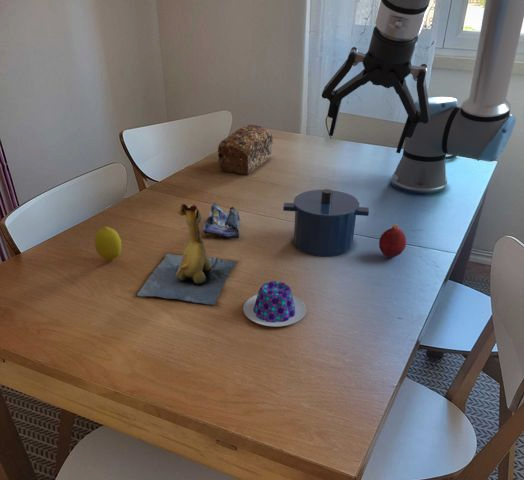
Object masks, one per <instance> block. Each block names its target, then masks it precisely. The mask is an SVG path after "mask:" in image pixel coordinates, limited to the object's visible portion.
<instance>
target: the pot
mask: <svg viewBox="0 0 524 480" xmlns="http://www.w3.org/2000/svg"><path fill="white" fill-rule="evenodd" d="M282 208H283V209H282V210H283V211H284V212H294V227H293V228H294V229H293V230H294V231H293V233H294V234H293V244H294V246H295V248H297V249H298V250H299V251H300V252H303V253H305V254H308V255H311V256H316V257H337V256H340V255H343V254H345V253H348V252H349V251H350V250H351V249H352V248H353V245H354V236H355V234H354V233H355V226H356V219H357V218H356V217H357V216H366V217H368V216H369V213H370V210H369V208H370V207H368V206H367V207H366V206H365V207H364V206H359V208H358V210H357V211H356V212H354V213H353V214H350V215H347V216H343V217H334V218H327V217H317V216H312V215H308V214H305V213H303V212H301V211H299V210H298V209H297V208H296V207H295V206H294V202H284V203H283V207H282Z"/></svg>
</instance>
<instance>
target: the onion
mask: <svg viewBox="0 0 524 480" xmlns="http://www.w3.org/2000/svg"><path fill="white" fill-rule="evenodd" d="M378 247H379V250H380V252H381V253H382V255H383V256H385V257H386V258H387V259H393V258H396V257H398V256H399V255H401V254H402V253H403V252H404V250H405V249H406V247H407V237H406V235H405V233H404V231H402V230H401V229H400V228H399V225H398V223H395V224H393V225H392V227H390V228H388V229H386V230H385V231H384V232H383V233H382V234H381V235H380V237H379V240H378Z"/></svg>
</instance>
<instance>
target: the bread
mask: <svg viewBox="0 0 524 480" xmlns="http://www.w3.org/2000/svg"><path fill="white" fill-rule="evenodd" d="M273 139H274V138H273V135H272V133H271V132H270V131H268V129H266V128H265V127H262V126H260V125H258V124H246V125H244V126H242V127H240V128H239V129H237V130H236V131H234V132H233V133H231V134H230V135H228V136H226V137H225V138H224V139H223V140H221V141H220V143H219V144H218V147H217V153H218V154H217V157H218V163H219V169H220V170H221V171H225V172H227V173H231V172H234V173H236V174H239V175H247V176H248V175H250V174H251V173H252V172H254V171H255V170H257V169H258V168H259V167H261V166H262V165H263V164H264V163H266V162H267V161H268V160H269V159H270V158H271V156H272V153H273V145H274V144H273V143H274V141H273Z"/></svg>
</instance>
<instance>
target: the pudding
mask: <svg viewBox="0 0 524 480" xmlns="http://www.w3.org/2000/svg"><path fill="white" fill-rule="evenodd" d="M242 309H243V310H242V311H243V313H244V315H245V316H246V318H248V319H249V320H250V321H252V322H254V323H256V324H258V325H261V326H266V327H284V326H285V327H286V326H289V325H294V324H295V323H297V322H299V321H301V320H302V319H303V318H304V317H305V315H306V313H307V306H306V304H305V303H304V302H303V300H302V299H300V298H299V297H297V296H296V295H293V293H292V288H291V286H289V285H288V284H286V283H285V282H282V281H276V280H273V281H272V280H271V281H269V282H265V283H263V284H262V285H261V287H260V288H259V290H258V292H257V294H255V295H253V296H251V297H250V298H248V299H247V300H246V301H245V302H244V303H243V307H242Z"/></svg>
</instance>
